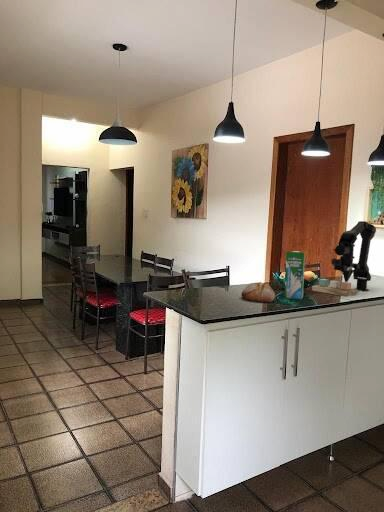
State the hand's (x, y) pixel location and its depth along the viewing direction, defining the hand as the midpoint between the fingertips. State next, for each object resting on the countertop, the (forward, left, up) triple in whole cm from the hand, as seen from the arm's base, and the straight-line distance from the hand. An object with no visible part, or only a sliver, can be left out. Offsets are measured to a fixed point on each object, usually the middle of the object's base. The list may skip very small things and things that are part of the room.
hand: (346, 281), depth 232 cm
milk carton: (+33, -12, -7) cm, 36 cm away
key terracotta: (0, 0, -4) cm, 4 cm away
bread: (+53, -20, -8) cm, 57 cm away
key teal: (0, -14, -4) cm, 15 cm away
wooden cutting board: (0, -7, -7) cm, 10 cm away
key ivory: (0, -7, -4) cm, 8 cm away
